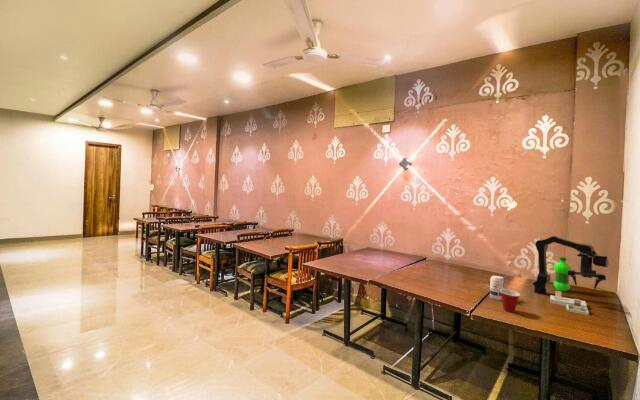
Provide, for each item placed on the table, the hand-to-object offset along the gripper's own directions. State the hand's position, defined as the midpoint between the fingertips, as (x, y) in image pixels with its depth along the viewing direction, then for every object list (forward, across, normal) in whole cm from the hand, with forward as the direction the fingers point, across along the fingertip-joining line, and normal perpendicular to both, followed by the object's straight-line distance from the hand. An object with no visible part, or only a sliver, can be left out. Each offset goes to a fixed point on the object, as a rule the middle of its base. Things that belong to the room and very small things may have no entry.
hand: (585, 287), depth 199 cm
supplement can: (+12, -48, -22) cm, 54 cm away
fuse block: (+12, -9, -7) cm, 16 cm away
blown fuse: (+11, -5, -17) cm, 21 cm away
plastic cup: (+12, -39, -42) cm, 58 cm away
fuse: (+11, -14, -7) cm, 19 cm away
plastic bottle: (+12, -11, +30) cm, 34 cm away
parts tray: (+12, -5, -17) cm, 22 cm away
